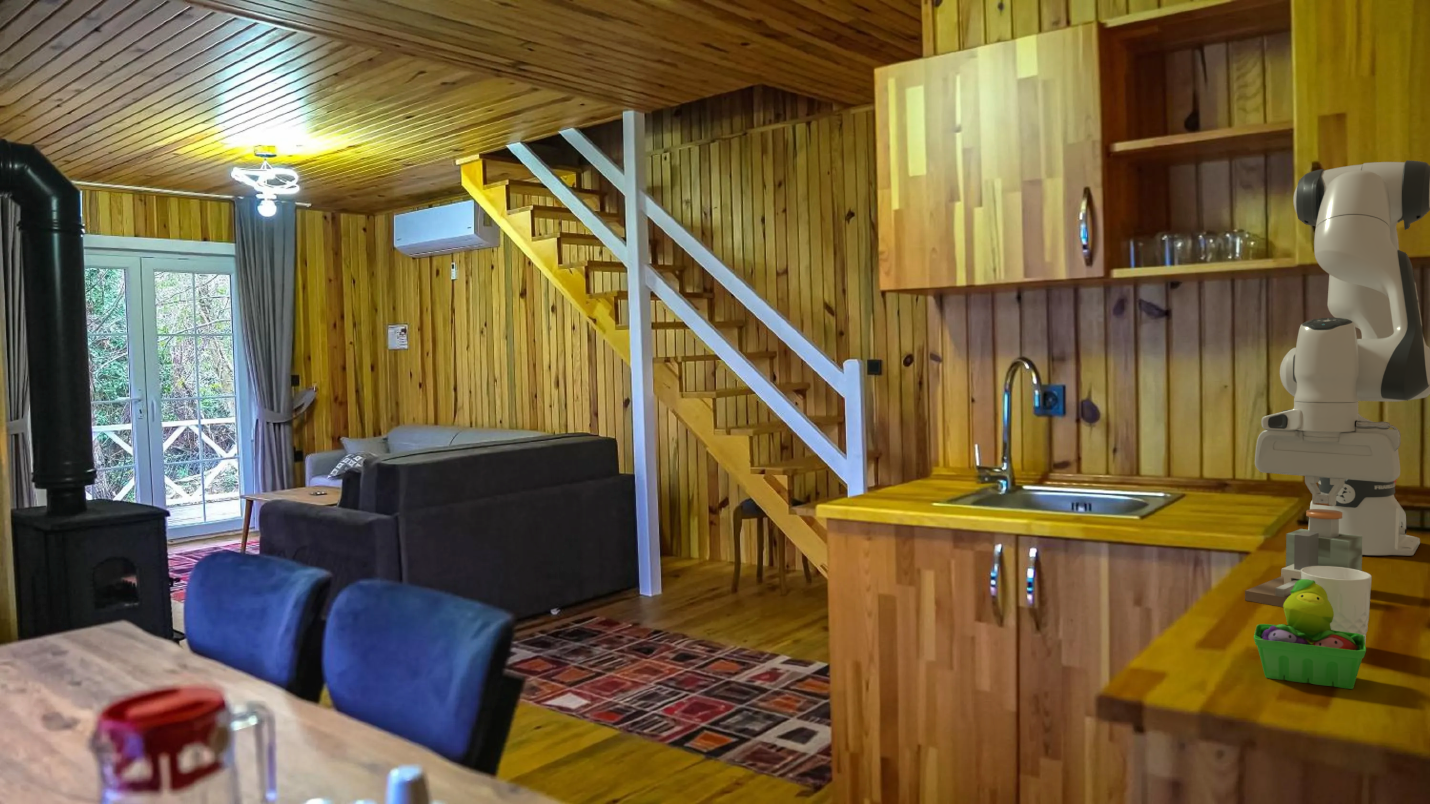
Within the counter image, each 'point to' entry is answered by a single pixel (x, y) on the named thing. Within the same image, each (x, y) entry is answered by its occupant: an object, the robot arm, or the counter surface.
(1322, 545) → the rail bed
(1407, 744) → the counter surface
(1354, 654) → the fruit basket
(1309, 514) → the button
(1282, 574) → the carriage
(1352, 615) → the white cup
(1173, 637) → the counter surface
